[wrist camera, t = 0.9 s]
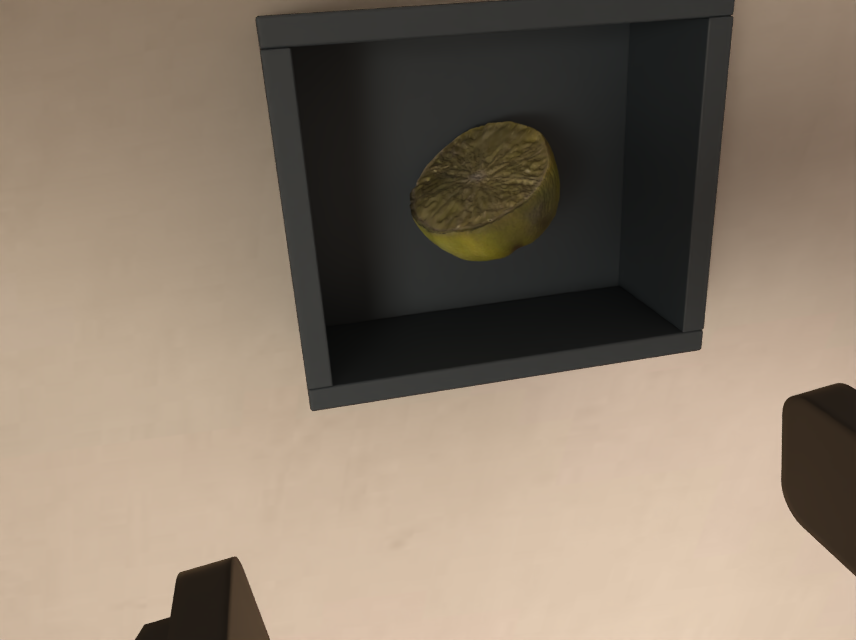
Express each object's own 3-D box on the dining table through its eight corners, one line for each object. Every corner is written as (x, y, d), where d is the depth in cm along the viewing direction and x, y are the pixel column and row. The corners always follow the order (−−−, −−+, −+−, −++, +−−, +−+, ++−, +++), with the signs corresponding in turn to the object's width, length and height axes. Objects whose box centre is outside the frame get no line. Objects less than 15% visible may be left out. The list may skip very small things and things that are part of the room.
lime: (390, 221, 26) (418, 262, 22) (437, 90, 25) (477, 105, 21) (498, 256, 28) (545, 301, 23) (548, 134, 27) (609, 157, 22)
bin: (255, 17, 23) (255, 15, 19) (647, -8, 26) (737, -15, 21) (301, 345, 28) (311, 412, 23) (631, 298, 30) (702, 350, 25)
